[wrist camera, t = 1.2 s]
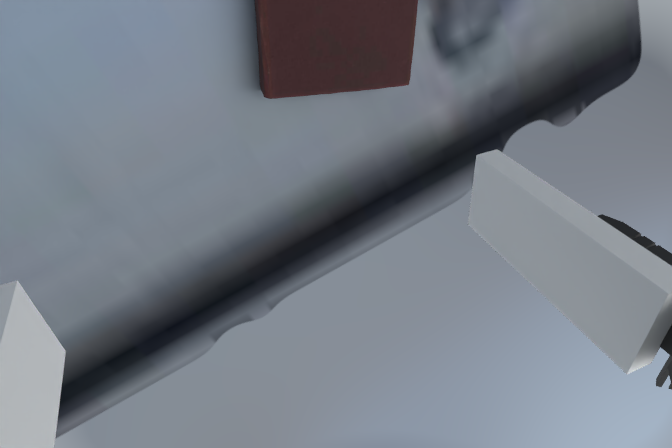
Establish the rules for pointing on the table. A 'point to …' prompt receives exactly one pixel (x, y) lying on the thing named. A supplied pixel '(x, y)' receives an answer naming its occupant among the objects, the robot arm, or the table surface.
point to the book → (333, 45)
